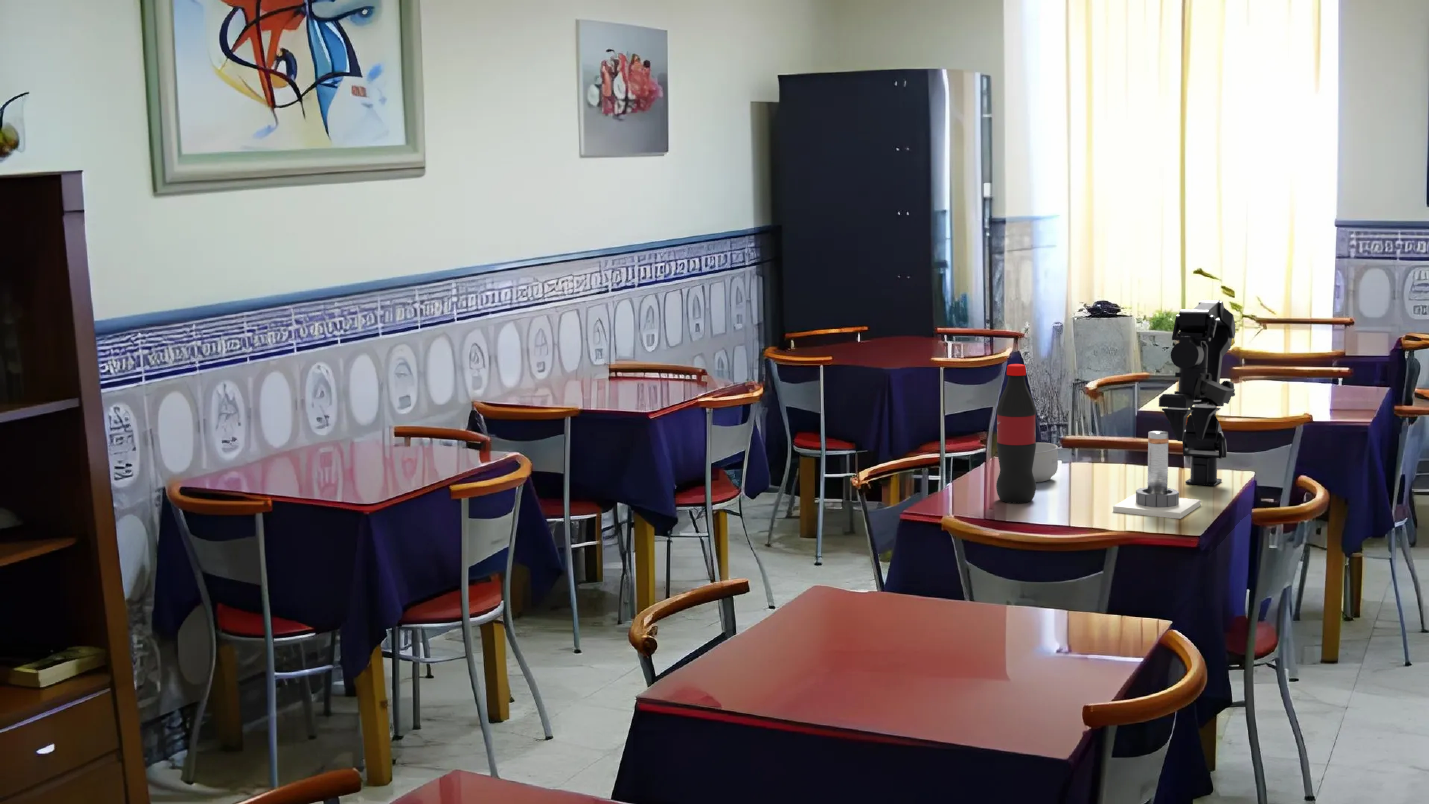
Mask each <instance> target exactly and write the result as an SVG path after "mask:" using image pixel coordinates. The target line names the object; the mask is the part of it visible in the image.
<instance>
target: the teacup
mask: <svg viewBox="0 0 1429 804" xmlns="http://www.w3.org/2000/svg"><path fill="white" fill-rule="evenodd" d="M1058 450H1059V447H1058V445H1057V444H1055V443H1051V442H1050V443H1049V442H1036V450H1035V456H1034V462H1033V469H1032V472H1033V476H1034V479H1035V482H1036V483H1041V482H1047V481H1049V480H1051V479H1052V477H1053V476H1055V475H1056V474H1057V472H1058V468H1059V467H1058V466H1059V455H1058V454H1059V453H1058Z"/></svg>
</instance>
